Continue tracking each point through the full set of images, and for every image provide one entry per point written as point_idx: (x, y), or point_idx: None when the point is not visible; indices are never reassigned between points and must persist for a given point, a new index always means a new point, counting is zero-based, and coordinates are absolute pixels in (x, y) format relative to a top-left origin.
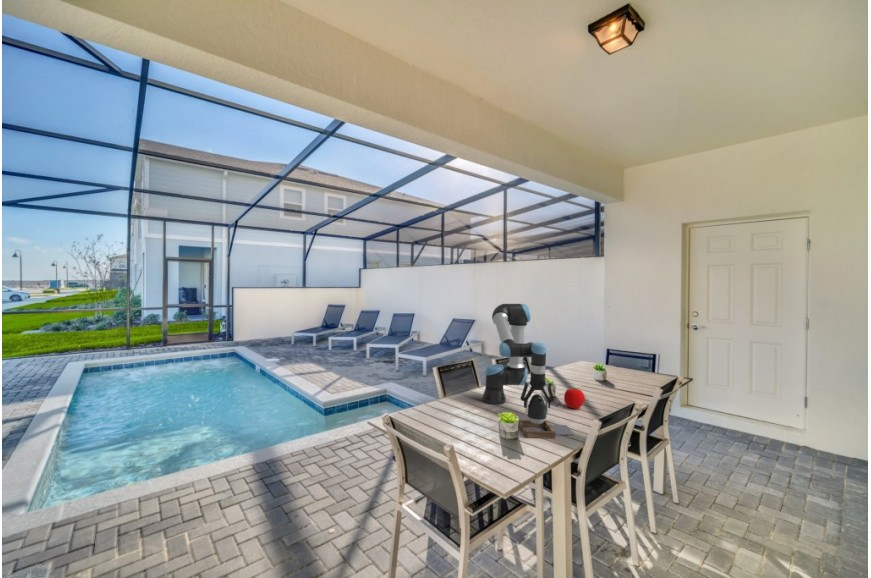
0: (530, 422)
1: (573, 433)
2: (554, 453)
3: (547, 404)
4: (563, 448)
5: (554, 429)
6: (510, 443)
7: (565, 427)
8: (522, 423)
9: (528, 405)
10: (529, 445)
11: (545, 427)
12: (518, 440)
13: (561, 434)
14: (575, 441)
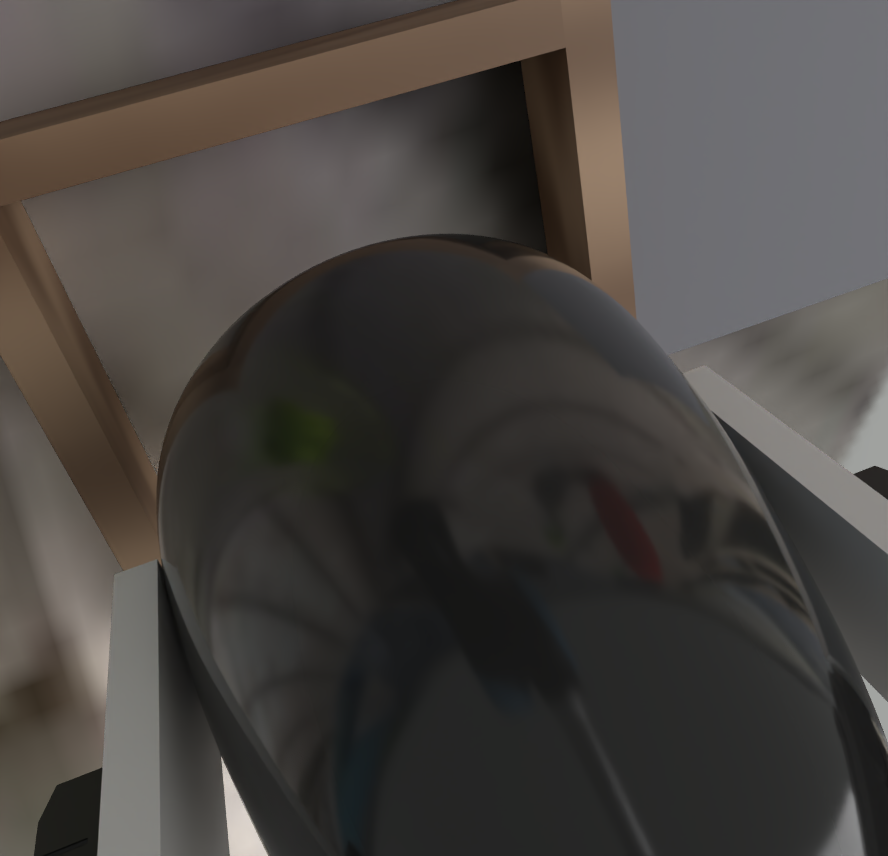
0: (223, 139)
1: None
2: None
3: (886, 677)
4: None
5: (669, 174)
6: (6, 834)
7: (882, 6)
8: (52, 352)
9: (222, 753)
10: None
11: (526, 89)
12: (97, 723)
13: (724, 332)
14: (826, 449)
